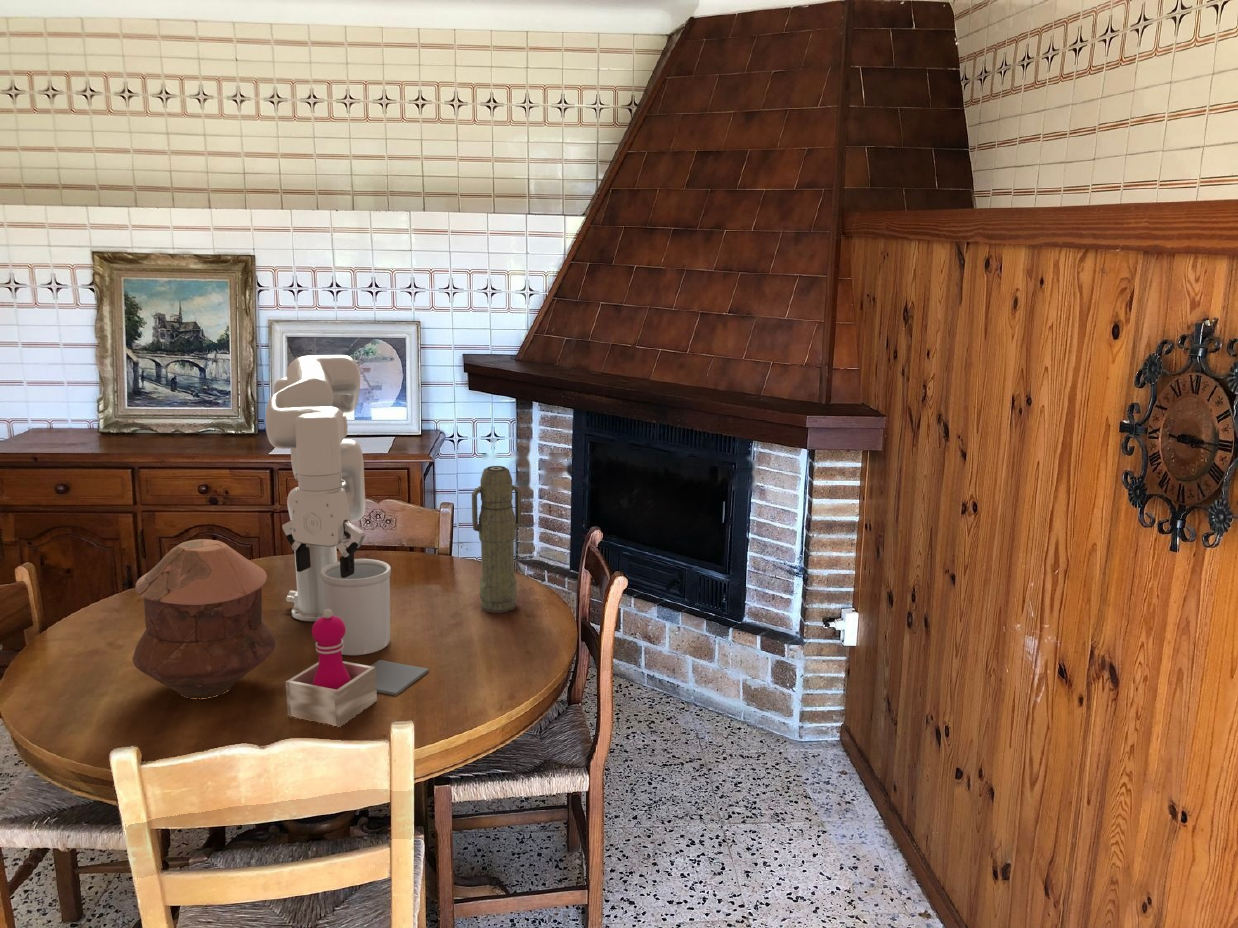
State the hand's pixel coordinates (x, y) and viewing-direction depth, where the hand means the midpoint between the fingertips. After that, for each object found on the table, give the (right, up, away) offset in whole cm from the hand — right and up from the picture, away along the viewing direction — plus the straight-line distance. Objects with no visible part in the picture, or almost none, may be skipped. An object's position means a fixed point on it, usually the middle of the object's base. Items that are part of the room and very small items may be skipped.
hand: (325, 572), depth 174 cm
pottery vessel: (-27, -25, +14) cm, 39 cm away
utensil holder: (-4, -20, +37) cm, 42 cm away
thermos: (+24, -15, +60) cm, 66 cm away
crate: (0, -27, +6) cm, 27 cm away
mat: (+7, -24, +19) cm, 31 cm away
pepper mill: (0, -27, +6) cm, 28 cm away
